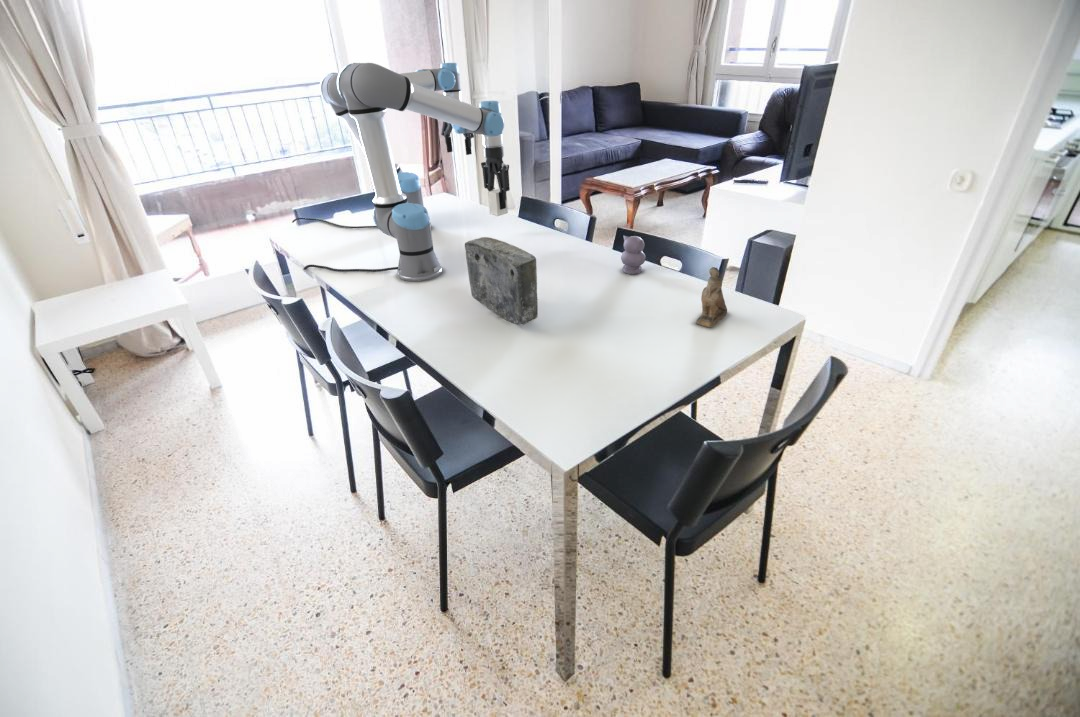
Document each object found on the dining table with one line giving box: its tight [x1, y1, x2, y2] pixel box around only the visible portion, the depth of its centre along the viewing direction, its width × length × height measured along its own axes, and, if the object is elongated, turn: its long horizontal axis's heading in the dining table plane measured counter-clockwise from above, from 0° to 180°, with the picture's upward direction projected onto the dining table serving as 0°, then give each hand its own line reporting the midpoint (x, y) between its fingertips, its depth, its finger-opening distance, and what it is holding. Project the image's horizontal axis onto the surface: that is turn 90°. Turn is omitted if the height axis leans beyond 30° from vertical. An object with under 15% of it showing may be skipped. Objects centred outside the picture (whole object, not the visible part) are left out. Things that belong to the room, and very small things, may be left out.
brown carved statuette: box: [695, 266, 728, 328], centre depth 135 cm, size 12×6×18 cm, turn 136°
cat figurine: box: [620, 234, 646, 275], centre depth 168 cm, size 9×8×12 cm
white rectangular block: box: [487, 188, 509, 217], centre depth 201 cm, size 5×6×9 cm
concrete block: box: [464, 236, 539, 326], centre depth 141 cm, size 27×9×20 cm, turn 36°
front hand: (498, 207), depth 202 cm, fingers closed on white rectangular block, 5 cm apart
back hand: (459, 153), depth 234 cm, fingers open, 13 cm apart
